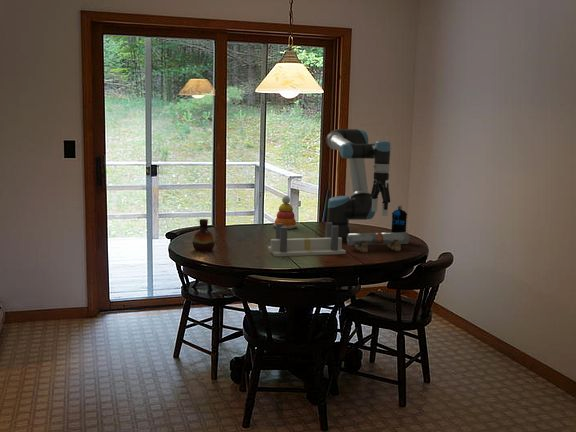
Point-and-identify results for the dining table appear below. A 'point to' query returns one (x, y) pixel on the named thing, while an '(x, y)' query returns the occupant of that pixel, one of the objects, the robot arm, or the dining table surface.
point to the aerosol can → (399, 220)
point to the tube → (377, 238)
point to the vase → (203, 238)
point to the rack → (395, 246)
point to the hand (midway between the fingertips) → (379, 213)
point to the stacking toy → (286, 214)
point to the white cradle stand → (306, 243)
